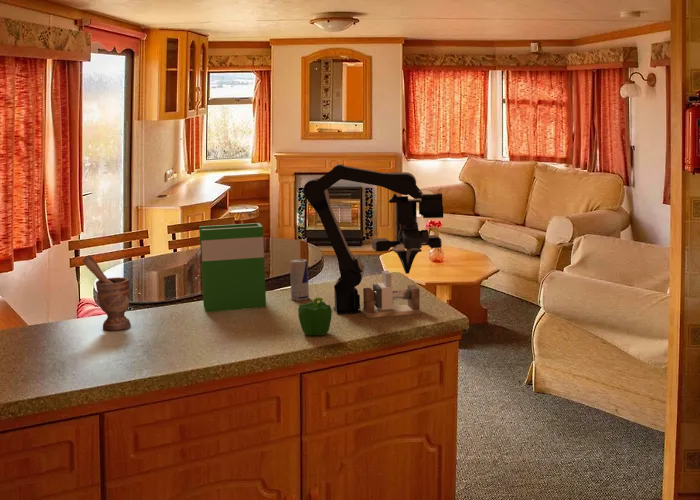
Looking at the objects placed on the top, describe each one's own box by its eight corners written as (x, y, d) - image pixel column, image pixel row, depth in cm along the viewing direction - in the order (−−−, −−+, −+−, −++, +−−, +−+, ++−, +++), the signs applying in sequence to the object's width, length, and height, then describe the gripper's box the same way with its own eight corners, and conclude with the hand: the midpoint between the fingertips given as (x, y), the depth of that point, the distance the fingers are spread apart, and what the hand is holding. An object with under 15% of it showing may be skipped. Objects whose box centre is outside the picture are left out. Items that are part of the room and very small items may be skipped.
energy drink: (312, 297, 237) (311, 259, 235) (302, 301, 233) (300, 262, 230) (298, 295, 240) (296, 258, 238) (287, 299, 235) (286, 261, 233)
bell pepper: (294, 332, 201) (293, 294, 200) (323, 327, 205) (322, 291, 203) (306, 340, 194) (305, 301, 192) (336, 335, 197) (335, 297, 195)
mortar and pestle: (87, 334, 203) (80, 260, 200) (88, 325, 211) (82, 254, 208) (132, 330, 206) (127, 256, 203) (132, 321, 214) (127, 251, 211)
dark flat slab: (377, 308, 214) (377, 288, 213) (373, 303, 220) (372, 284, 219) (381, 308, 215) (381, 288, 214) (377, 303, 220) (377, 284, 219)
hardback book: (205, 312, 223) (200, 230, 219) (203, 306, 230) (199, 226, 226) (266, 307, 227) (262, 226, 223) (262, 301, 234) (259, 223, 230)
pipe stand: (368, 317, 214) (367, 293, 212) (362, 311, 220) (362, 287, 219) (420, 313, 216) (420, 289, 215) (413, 307, 223) (413, 284, 222)
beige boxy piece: (382, 309, 214) (381, 275, 213) (377, 304, 220) (376, 270, 219) (392, 308, 215) (392, 274, 213) (387, 303, 221) (386, 269, 219)
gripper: (380, 224, 205) (381, 281, 208) (447, 220, 208) (447, 277, 211) (371, 218, 216) (372, 273, 218) (435, 215, 219) (435, 269, 222)
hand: (407, 273), depth 217 cm, fingers closed
